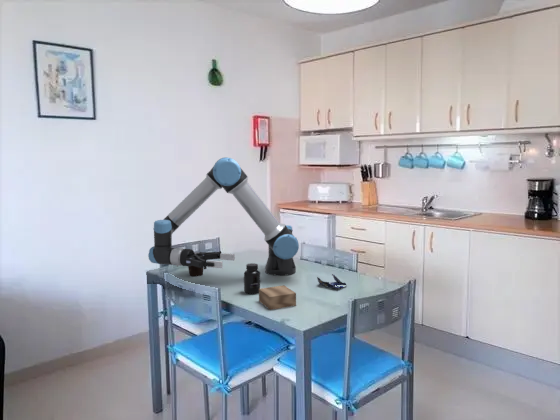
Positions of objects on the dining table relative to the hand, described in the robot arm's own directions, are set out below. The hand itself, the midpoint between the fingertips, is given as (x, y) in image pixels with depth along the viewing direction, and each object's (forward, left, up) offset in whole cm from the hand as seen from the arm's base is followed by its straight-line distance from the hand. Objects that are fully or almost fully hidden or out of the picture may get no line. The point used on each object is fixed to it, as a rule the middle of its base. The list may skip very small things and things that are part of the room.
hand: (228, 261), depth 192 cm
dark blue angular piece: (-43, +14, -14) cm, 47 cm away
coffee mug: (+6, -32, -13) cm, 35 cm away
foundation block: (-12, +23, -13) cm, 29 cm away
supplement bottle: (-8, +6, -13) cm, 17 cm away
